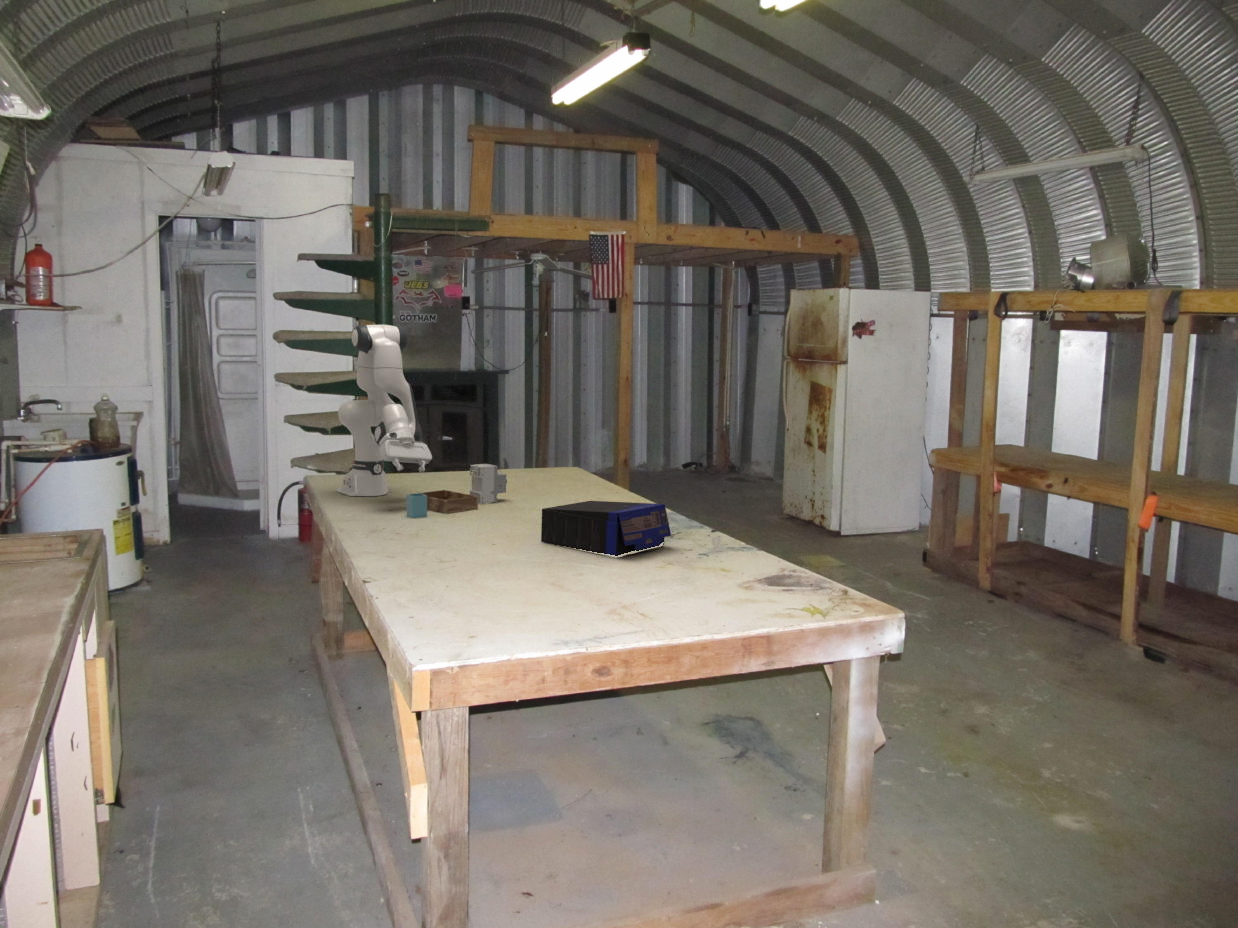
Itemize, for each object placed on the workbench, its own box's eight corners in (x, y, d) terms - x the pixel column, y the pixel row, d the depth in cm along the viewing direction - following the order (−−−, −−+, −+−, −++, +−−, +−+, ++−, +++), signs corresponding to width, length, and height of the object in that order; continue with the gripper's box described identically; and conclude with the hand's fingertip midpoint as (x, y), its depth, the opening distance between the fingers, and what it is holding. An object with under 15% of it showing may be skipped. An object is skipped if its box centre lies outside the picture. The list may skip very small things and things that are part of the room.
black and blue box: (623, 560, 284) (625, 514, 283) (540, 542, 306) (541, 499, 304) (671, 548, 303) (673, 505, 302) (589, 532, 325) (591, 491, 323)
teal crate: (406, 515, 344) (406, 494, 343) (421, 514, 347) (421, 493, 346) (412, 518, 339) (412, 496, 338) (426, 517, 342) (427, 495, 341)
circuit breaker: (509, 501, 382) (509, 464, 380) (480, 504, 372) (480, 467, 370) (498, 498, 387) (498, 462, 385) (469, 501, 378) (470, 464, 376)
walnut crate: (412, 506, 362) (412, 493, 362) (444, 502, 375) (444, 489, 374) (445, 513, 350) (445, 500, 349) (478, 508, 362) (478, 496, 361)
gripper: (421, 446, 366) (431, 476, 360) (374, 442, 351) (383, 473, 345) (429, 437, 362) (439, 467, 356) (382, 433, 347) (392, 464, 342)
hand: (411, 470), depth 351 cm, fingers open, 8 cm apart
